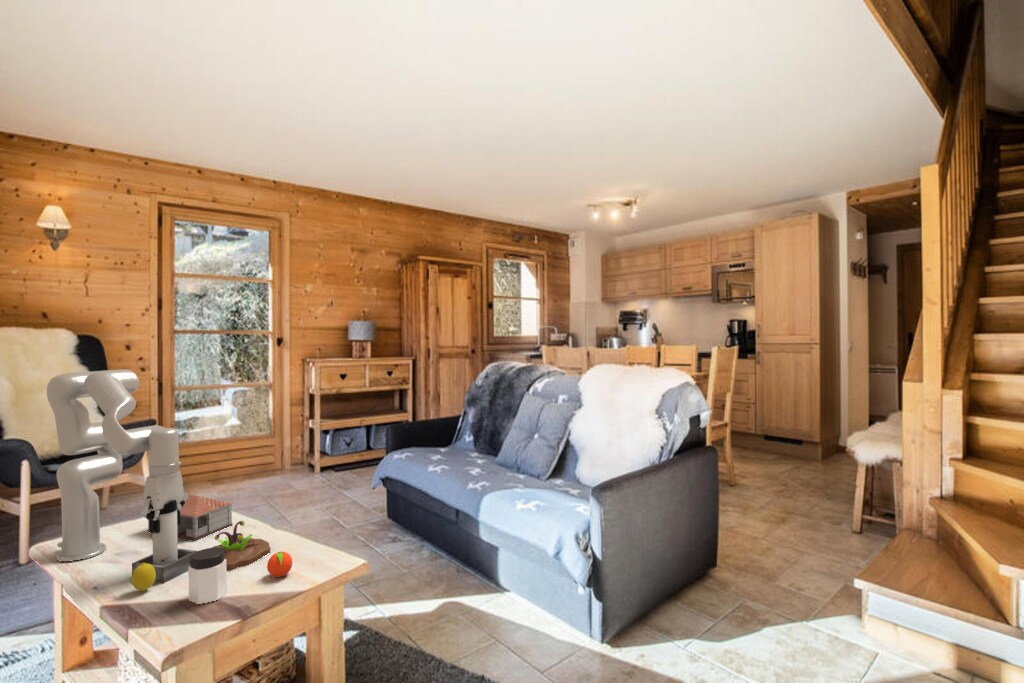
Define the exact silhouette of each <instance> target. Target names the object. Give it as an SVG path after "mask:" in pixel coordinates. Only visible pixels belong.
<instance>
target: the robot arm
mask: <svg viewBox="0 0 1024 683" xmlns="http://www.w3.org/2000/svg"><path fill="white" fill-rule="evenodd" d="M139 387H140V378H139V377H138V375H137V373H135V372H134V371H132V370H130V369H127V368H122V369H108V370H95V371H94V370H93V371H79V372H78V371H77V372H76V371H75V372H68V373H67V372H66V373H61V374H58V375H56V376H53V377H52V378H50V380H49V382H48V383H47V386H46V398H47V401H48V403H49V406H50V408H51V410H52V413H53V415H54V419H55V420H54V421H55V428H56V429H55V430H56V435H57V442H58V448H59V450H60V452H61V453H62V454H63V455H66V456H77V455H81V454H88V453H92V452H97V454H95V455H89V456H84V457H80V458H74V459H71V460H68V461H66V462H64V463H63V464H61V465H60V466H59V467H58V468H57V470H56V481H57V485H58V488H59V491H60V492H59V493H60V501H61V502H60V504H61V505H60V506H61V536H62V537H61V538H62V539H61V540H62V541H61V542H58V543H57V546H56V547H58V548H61V551H60V552H59V553H57V554H56V557H55V559H56V558H57V559H58V560H61V561H70V560H79V561H81V560H80V559H83V560H86V558H87V559H90V557H91V558H94V557H96V556H98V555H100V554H102V553H104V552H105V551H106V549H107V545H106V543H102V542H101V526H100V524H101V522H100V499H99V495H98V494H97V493H96V492H95V491H94V489H92V487H91V486H93V485H97V484H101V483H105V482H108V481H112V480H116V479H117V478H118V477H120V476H121V474H122V472H123V468H124V467H123V457H122V456H130V455H136V454H140V453H144V452H148V472H149V473H148V476H146V478H145V484H144V488H143V500H142V501H143V502H142V506H141V508H139V510H138V513H139V514H140V515H141V516H143V517H144V518H145V519H146V520H147V521H148V520H149V530H150V533H159V532H160V520H159V519H158V516H159V513H160V510H161V509H163V508H164V504H168V503H169V502H171V501H173V500H177V525H179V524H180V511H182V507H183V505H184V504H185V501H186V500H187V498H188V497H189V495H190V494H188V493H186V491H184V482H183V476H182V471H180V466H182V462H181V461H180V447H179V444H180V443H179V437H180V436H179V431H178V429H176V428H173V427H165V426H162V425H157V424H155V425H149V426H142V427H136V428H130V429H125V428H124V427H123V426H122V425H121V424H120V423H119V421H120V420H122V419H124V418H126V417H127V416H128V415H130V414H131V413H132V412H133V411H134V410H135V408H136V407H137V402H136V399H135V398H134V397H133V395H132V394H134V393H135V392H136V391H138V389H139ZM81 398H82V399H83V398H84V399H85V398H92V400H93V401H94V402H95V403H96V404H97V407H99V408H100V410H101V411H102V412H103V413H104V414H105V415H104V416H103V419H102V421H99V422H98V421H97V422H92V423H91V421H90V415H89V411H88V409H87V407H86V406H85V405H84V404H83V403H82V402H81V401H80V400H79V399H81ZM148 509H150V510H149V512H148ZM154 511H155V513H154ZM153 513H154V515H153ZM150 533H149V534H150ZM93 556H94V557H93Z"/></svg>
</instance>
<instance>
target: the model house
mask: <svg viewBox="0 0 1024 683" xmlns="http://www.w3.org/2000/svg"><path fill="white" fill-rule="evenodd" d="M188 495H189V497H188V498H187V500H186V501H185V504H184V505H183V507H182V511H180V524H179V525H177V539H178V538H179V540H183V539H185V540H186V541H189V540H191V541H190V542H194V541H195V542H197V540H198V541H200V540H202V539H204V537H205V538H207V537H209V536H208V535H210V534H212V535H214V534H213V533H215V532H217V531H219V532H221V531H220V530H222V529H224V528H227V527H229V526H232V525H233V520H232V519H233V516H232V513H233V511H232V507H233V503H231V502H226V501H222V500H217V499H213V498H208V497H203V496H199V495H192V494H188ZM149 510H150V509H148V510H147V511H148V512H149ZM147 522H148V524H147V526H148V530H147V533H148V532H150V530H149V520H147ZM232 527H233V526H232ZM229 528H230V527H229ZM227 529H228V528H227ZM224 530H225V529H224ZM222 531H223V530H222ZM217 533H218V532H217ZM215 534H216V533H215ZM206 536H207V537H206ZM210 536H211V535H210ZM201 538H202V539H201ZM199 539H200V540H199ZM185 540H184V541H185Z"/></svg>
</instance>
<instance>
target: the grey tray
mask: <svg viewBox="0 0 1024 683" xmlns="http://www.w3.org/2000/svg"><path fill="white" fill-rule="evenodd" d="M197 551H198V550H193V549H185V548H179V547H178V560H176V561H174V562H171V563H169V564H167V565H165V566H160V565H153V553H152V554H150V555H148V556H146V557H142V558H141V559H139V560H137V561H134V562H132V563H131V576H132V575H133V572H134V570H135V569H136V568H137V567H138V566H139V565H141V564H142V563H147V564H151V565H152V566H153V567H154V568H155V572H156V578H155V581H154V583H158V582H160V583H159V584H165V582H166V583H167V581H168V582H169V581H171V580H173V579H175V578H177V577H179V576H180V575H183V574H185V573H187V572H188V567H189V566H190V556H191V555H192V554H193V553H195V552H197Z"/></svg>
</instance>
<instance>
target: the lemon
mask: <svg viewBox="0 0 1024 683" xmlns="http://www.w3.org/2000/svg"><path fill="white" fill-rule="evenodd" d="M155 578H156V572H155V568H154V567H153V566H152V565H151V564H147V563H142V564H141V565H139V566H138V567H137V568H136V569H135V570H134V572H133V575H132V574H131V585H132V587H133V588H134V589H135V590H137V591H141V592H145V591H147V590H148V589H149V588H151V587H152V586H153V585H154V583H155V582H154V581H155Z"/></svg>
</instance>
